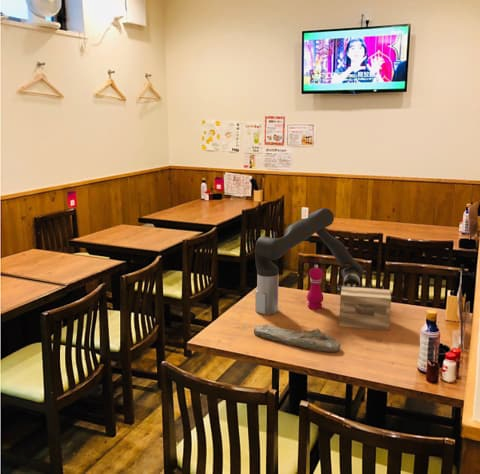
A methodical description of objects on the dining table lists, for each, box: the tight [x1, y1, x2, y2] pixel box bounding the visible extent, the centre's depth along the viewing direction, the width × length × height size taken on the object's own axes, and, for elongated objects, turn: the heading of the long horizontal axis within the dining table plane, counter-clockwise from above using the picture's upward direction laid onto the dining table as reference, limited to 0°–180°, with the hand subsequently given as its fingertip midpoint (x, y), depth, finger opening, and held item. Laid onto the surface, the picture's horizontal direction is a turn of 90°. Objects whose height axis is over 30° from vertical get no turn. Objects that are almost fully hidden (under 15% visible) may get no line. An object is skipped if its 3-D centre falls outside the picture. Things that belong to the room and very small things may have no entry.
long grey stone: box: [253, 324, 341, 353], centre depth 194 cm, size 35×5×10 cm
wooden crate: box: [338, 285, 392, 331], centre depth 209 cm, size 11×20×14 cm, turn 76°
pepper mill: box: [306, 264, 324, 310], centre depth 226 cm, size 7×7×20 cm
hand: (350, 295), depth 220 cm, fingers closed
